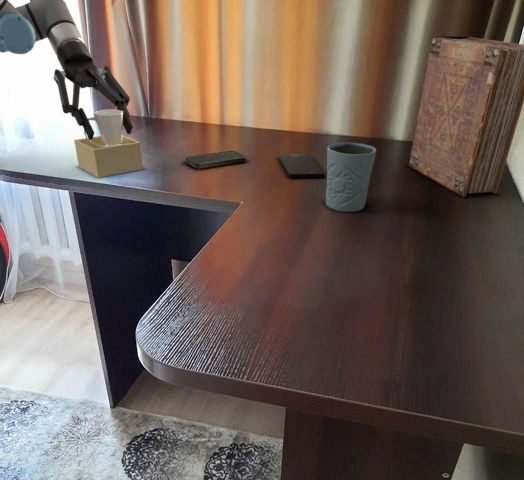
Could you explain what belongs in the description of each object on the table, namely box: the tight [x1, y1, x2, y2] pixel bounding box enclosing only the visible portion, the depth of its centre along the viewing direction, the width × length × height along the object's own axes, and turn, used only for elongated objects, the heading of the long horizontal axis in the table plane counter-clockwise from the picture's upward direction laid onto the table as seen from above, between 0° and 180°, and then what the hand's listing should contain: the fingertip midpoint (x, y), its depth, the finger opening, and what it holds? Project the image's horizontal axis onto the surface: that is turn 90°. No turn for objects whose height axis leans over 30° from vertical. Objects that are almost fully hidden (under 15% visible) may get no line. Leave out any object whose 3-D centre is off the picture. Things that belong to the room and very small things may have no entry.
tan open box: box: [73, 134, 144, 178], centre depth 127 cm, size 12×11×6 cm
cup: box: [83, 108, 124, 148], centre depth 124 cm, size 7×10×8 cm
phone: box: [185, 150, 247, 169], centre depth 135 cm, size 8×1×15 cm
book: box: [408, 35, 524, 198], centre depth 119 cm, size 25×9×30 cm, turn 16°
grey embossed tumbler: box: [325, 142, 377, 213], centre depth 108 cm, size 10×10×12 cm
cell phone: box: [278, 153, 325, 179], centre depth 133 cm, size 9×18×1 cm, turn 7°
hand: (111, 133), depth 122 cm, fingers closed on cup, 9 cm apart
